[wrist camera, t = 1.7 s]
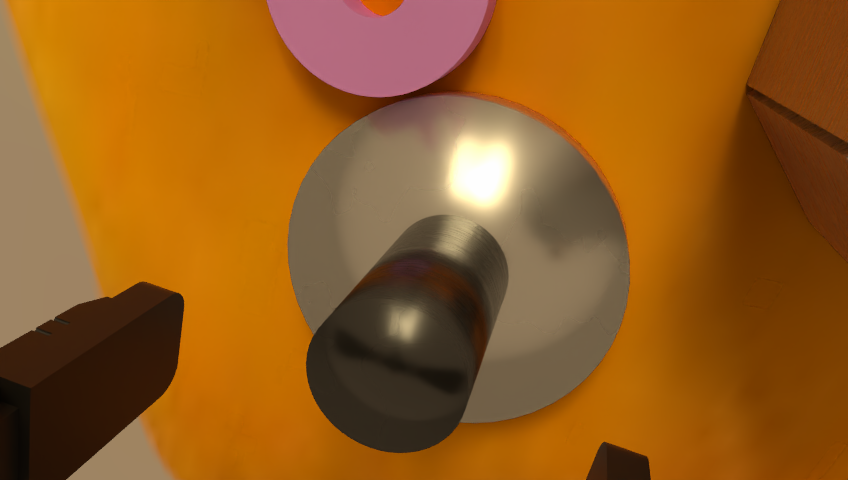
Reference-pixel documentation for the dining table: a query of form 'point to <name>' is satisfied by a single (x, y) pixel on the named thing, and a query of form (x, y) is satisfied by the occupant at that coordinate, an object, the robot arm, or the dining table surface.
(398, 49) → the bracket
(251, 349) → the dining table surface
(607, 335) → the lid
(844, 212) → the pot
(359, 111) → the dining table surface
